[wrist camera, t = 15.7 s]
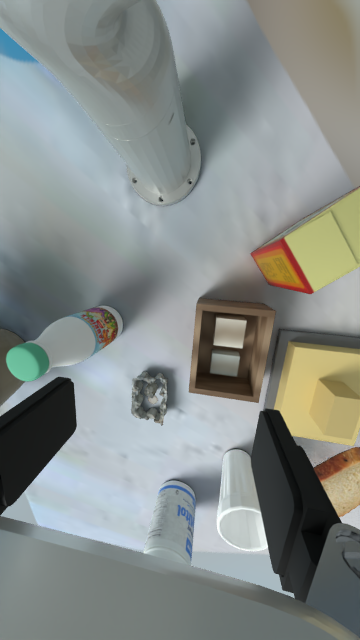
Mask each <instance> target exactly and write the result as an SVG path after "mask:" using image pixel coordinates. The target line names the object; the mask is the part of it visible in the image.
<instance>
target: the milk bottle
mask: <svg viewBox="0 0 360 640" xmlns="http://www.w3.org/2000/svg"><path fill="white" fill-rule="evenodd" d="M122 329H123V321H122V318H121V316H120V314H119V313H118V312H117V311H116V310H115V309H113V308H111V307H109V306H98V307H95V308H91V309H88V310H85V311H82V312H78V313H75V314H72V315H69V316H67V317H64V318H61V319H59V320H57V321H55V322H53V323H52V324H51V325H49V326H48V327H47V328H46V329H45V330H44V331H43V333H42V334H41V335H40V336H39V337H38V338H37V339H36V340H35V341H28V342H26V343H23V344H20V345H17V346H15V347H13V348H12V349H10V350H9V352H8V353H7V357H6V362H7V366H8V368H9V370H10V372H11V373H12V374H13V375H14V376H15V377H16V378H18V379H20V380H22V381H33V380H36V379H38V378H39V377H41V376H42V375H44V374H45V373H47V372H49V371H50V370H51V368H53V367H58V366H70V365H74V364H77V363H80V362H82V361H84V360H86V359H87V358H89V357H91V356H92V355H94V354H95V353H97V352H98V351H100V350H101V349H102V348H104V347H105V346H107V345H108V344H110V343H111V342H112V341H114V340H115V339H116V338H118V337H119V336H120V334H121V332H122Z"/></svg>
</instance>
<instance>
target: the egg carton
mask: <svg viewBox="0 0 360 640" xmlns="http://www.w3.org/2000/svg"><path fill="white" fill-rule="evenodd" d="M157 378H160V380H161V382H162V383H163V384H164V383H165V384H164V385H163V386H162V389H161V391H160V395H162V396H163V397H164V398H163V400H162V402H161V405H160V408H159V410H160V412H161V413H158V411H157V410H156V409H155V408H150V409H149V410H148V411H144V409H143V408H142V407H140V405H141V403H142V401H143V399H144V398H143V396H142V395H141V394H140V391H141V389H142V388H143V382H142V381H140V380H144V381H147V382H148V385H147V387H146V389H145V392H144V394H145V395H146V396H147V397H149V398H148V401H149V402H150V403H151V404H155V403H157V401H158V399H157V397H156V396H155V393H156V391H157V388H158V385H157V383H155V382H154V381H156V380H157ZM167 382H168V380H167V379H166V378H165V377H164V376H163V374H162V373H158V374H157V376H156V377H151V376H149V374H148V372H143V373H142V374H141V375H140V376H138V377H137V378H135V379H133V382H132V385H133V388H132V390H133V391H132V409H131V411H132V414H133V415H134V416H135V417H136V418H140V419H141V418H143V419H146V420H148V419H149V418H150V419H154V422H156V423H160V424H161V425H163V419H164V415H165V414H166V412H167V405H166V401H167V387H166V385H167Z"/></svg>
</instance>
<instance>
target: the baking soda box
mask: <svg viewBox="0 0 360 640" xmlns="http://www.w3.org/2000/svg"><path fill="white" fill-rule="evenodd" d="M251 256H252V257H253V259H254V261H255V262H256V264H257V266H258V267H259V269H260V271H261V272H262V274H263V276H264V277H265V279H266V281H267V282H268V284H269V285H272V286H277V287H281V288H286V289H290V290H294V291H299V292H303V293H308V294H312V293H314V292H316V291H317V290H319V289H321V288H323V287H324V286H326V285H328V284H330V283H332V282H333V281H335V280H337V279H339V278H340V277H342V276H344V275H346V274H348V273H349V272H351V271H353V270H355V269H357V268H358V267H360V186H359V187H357V188H356V189H354V190H352V191H350V192H349V193H347V194H345V195H343V196H342V197H340V198H338V199H336V200H335V201H333V202H331V203H330V204H328V205H326V206H324V207H323V208H321V209H319V210H317V211H316V212H314V213H312V214H310V215H309V216H307V217H305V218H303V219H302V220H300V221H299V222H297V223H296V224H294V225H293V226H291V227H290V228H288V229H287V230H285V231H284V232H282V233H281V234H279V235H278V236H276V237H275V238H273V239H272V240H270V241H269V242H267V243H266V244H264V245H263V246H261V247H260V248H258V249H257V250H255V251H254V252H252V253H251Z"/></svg>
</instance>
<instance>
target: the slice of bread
mask: <svg viewBox="0 0 360 640" xmlns="http://www.w3.org/2000/svg"><path fill="white" fill-rule="evenodd" d="M314 470H315V472H316V474H317V476H318V478H319V480H320V482H321V484H322V486H323V488H324V489H325V491H326V493H327V495H328V497H329V499H330V501H331V503H332V505H333V507H334V509H335V511H336V512H337V514H338V516H339V517H341V516H344V515H345V514H346V513H349V512H350V511H351V510H352V509H355V508H356V507H357V506H358V505H360V448H359V447H355V448H351V449H350V450H347V451H344V452H342V453H339V454H337V455H336V456H334V457H331V458H329V459H328V460H327V461H325V462H323V463H321V464H320V465H318V466H316V467H314Z"/></svg>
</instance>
